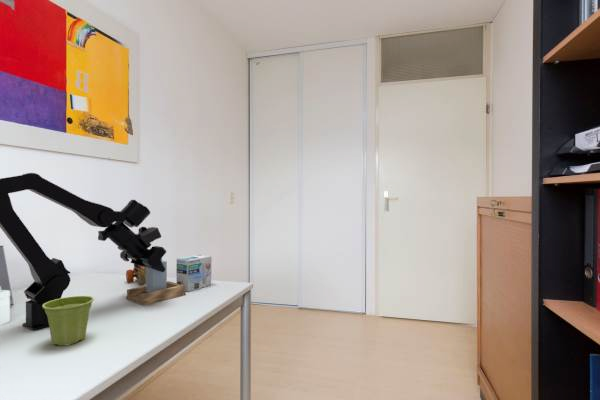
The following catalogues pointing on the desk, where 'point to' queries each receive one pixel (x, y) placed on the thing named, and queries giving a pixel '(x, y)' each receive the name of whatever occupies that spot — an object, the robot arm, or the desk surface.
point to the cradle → (155, 294)
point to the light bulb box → (194, 272)
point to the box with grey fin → (156, 278)
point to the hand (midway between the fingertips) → (160, 270)
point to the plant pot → (68, 318)
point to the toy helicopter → (136, 274)
